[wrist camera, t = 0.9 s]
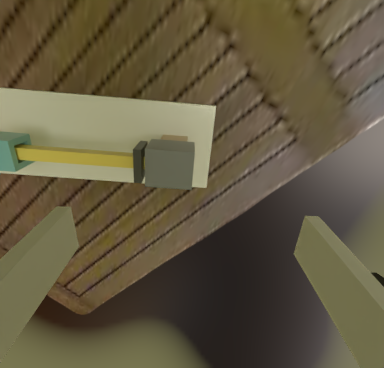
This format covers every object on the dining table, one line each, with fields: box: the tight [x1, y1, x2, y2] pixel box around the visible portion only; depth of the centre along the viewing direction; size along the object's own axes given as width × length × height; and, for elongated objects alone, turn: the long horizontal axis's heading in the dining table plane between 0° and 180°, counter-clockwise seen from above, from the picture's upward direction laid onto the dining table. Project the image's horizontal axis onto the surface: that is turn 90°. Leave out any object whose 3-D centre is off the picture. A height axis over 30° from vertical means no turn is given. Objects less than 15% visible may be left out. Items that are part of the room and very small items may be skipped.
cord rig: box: [0, 87, 216, 190], centre depth 32 cm, size 14×42×12 cm, turn 85°
